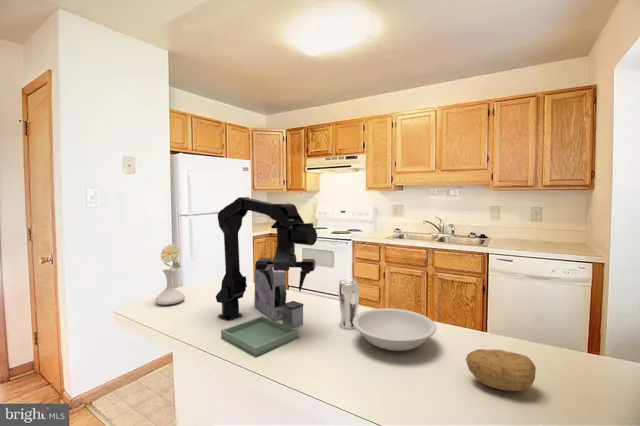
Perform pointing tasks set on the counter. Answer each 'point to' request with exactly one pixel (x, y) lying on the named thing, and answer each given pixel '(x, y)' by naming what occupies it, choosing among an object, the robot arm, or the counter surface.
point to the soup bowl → (394, 328)
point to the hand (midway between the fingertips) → (286, 290)
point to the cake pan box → (270, 294)
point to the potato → (501, 369)
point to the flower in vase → (170, 277)
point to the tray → (259, 335)
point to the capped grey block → (292, 314)
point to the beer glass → (348, 302)
